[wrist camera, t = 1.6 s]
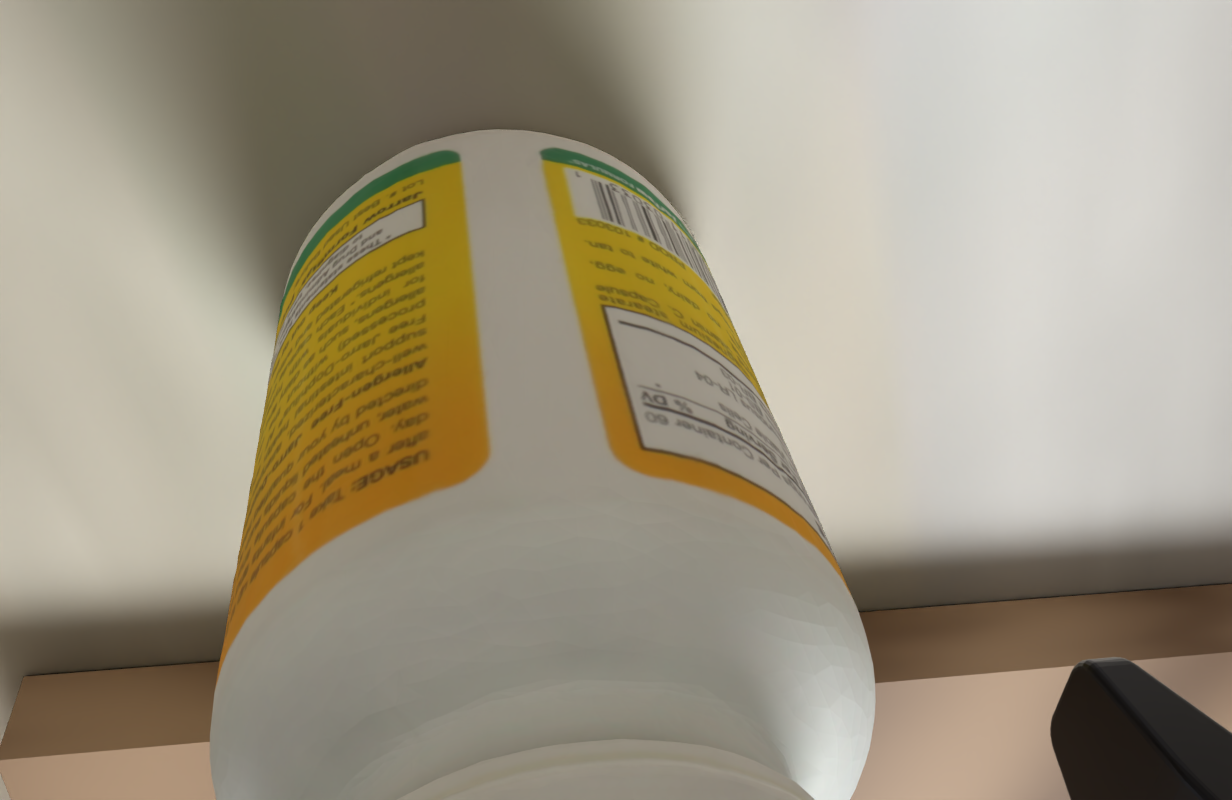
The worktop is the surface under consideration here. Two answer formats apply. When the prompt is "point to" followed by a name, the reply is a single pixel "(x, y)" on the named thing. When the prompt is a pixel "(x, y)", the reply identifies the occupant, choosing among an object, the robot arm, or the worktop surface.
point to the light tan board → (903, 724)
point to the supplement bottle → (526, 512)
